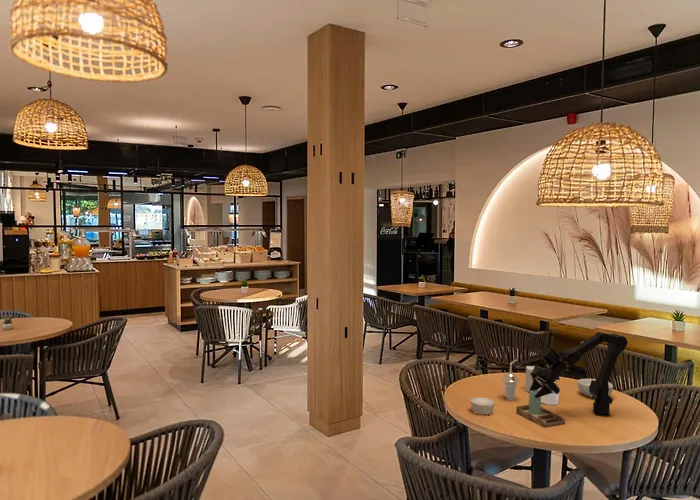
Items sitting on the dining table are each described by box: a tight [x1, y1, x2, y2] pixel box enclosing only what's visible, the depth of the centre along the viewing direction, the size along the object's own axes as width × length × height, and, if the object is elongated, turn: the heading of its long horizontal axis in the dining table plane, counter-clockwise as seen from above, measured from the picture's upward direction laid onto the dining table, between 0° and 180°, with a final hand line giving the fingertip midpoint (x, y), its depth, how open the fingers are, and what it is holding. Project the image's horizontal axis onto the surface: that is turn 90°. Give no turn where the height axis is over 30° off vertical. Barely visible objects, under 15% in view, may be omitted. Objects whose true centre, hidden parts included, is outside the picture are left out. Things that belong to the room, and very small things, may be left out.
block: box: [528, 390, 542, 415], centre depth 245 cm, size 4×4×10 cm
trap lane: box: [515, 404, 566, 428], centre depth 242 cm, size 18×12×3 cm, turn 23°
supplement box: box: [524, 365, 540, 393], centre depth 282 cm, size 7×7×13 cm
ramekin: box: [470, 397, 495, 415], centre depth 250 cm, size 11×11×5 cm
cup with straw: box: [501, 359, 520, 401], centre depth 268 cm, size 8×9×20 cm
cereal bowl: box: [577, 378, 614, 399], centre depth 275 cm, size 17×17×7 cm
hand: (532, 395), depth 245 cm, fingers open, 6 cm apart
